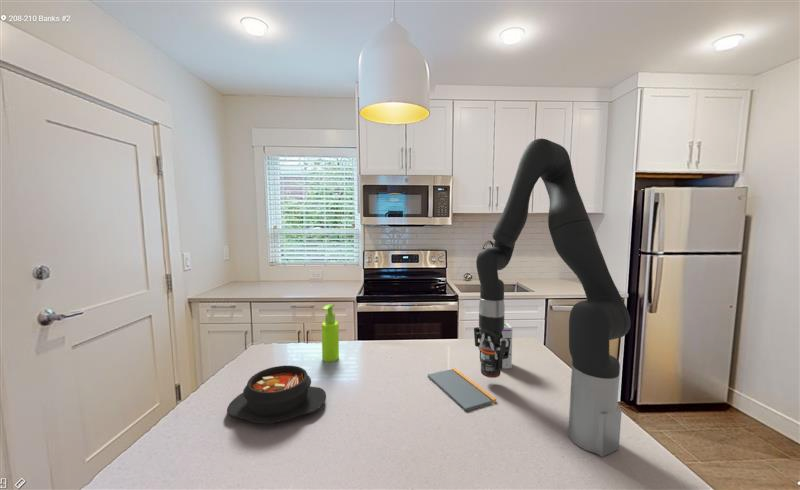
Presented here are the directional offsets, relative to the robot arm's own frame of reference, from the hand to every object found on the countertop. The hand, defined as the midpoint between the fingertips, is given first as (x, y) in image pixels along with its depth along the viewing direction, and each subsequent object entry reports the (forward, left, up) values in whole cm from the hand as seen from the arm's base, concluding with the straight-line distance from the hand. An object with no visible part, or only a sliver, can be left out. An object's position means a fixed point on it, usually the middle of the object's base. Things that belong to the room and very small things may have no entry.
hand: (490, 365), depth 98 cm
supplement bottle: (0, 0, -3) cm, 3 cm away
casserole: (+13, +61, -6) cm, 62 cm away
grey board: (+1, +10, -6) cm, 11 cm away
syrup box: (+8, -12, -6) cm, 16 cm away
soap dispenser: (+37, +42, -6) cm, 56 cm away
